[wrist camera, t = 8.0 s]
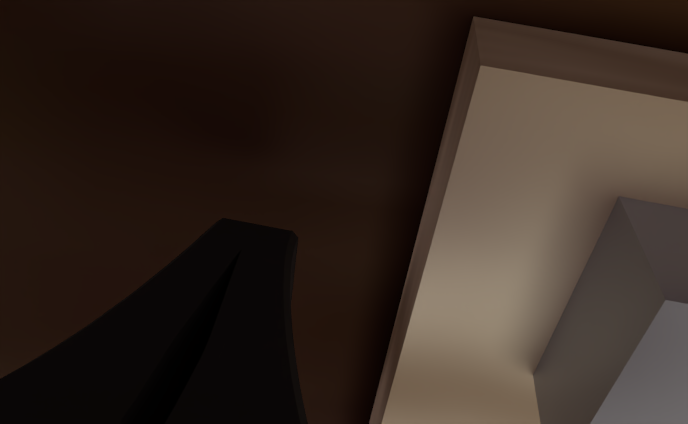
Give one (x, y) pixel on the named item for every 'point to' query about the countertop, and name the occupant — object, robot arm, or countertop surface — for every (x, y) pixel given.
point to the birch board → (524, 211)
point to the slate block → (623, 326)
